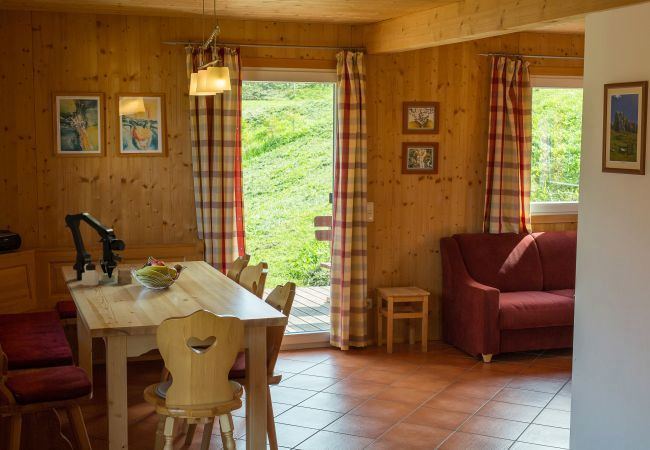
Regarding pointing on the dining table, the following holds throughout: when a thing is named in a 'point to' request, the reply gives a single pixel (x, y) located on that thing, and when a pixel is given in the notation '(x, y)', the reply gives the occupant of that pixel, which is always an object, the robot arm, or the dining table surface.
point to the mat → (112, 283)
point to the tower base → (124, 280)
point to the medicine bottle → (90, 275)
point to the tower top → (124, 272)
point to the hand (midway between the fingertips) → (107, 277)
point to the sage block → (107, 279)
